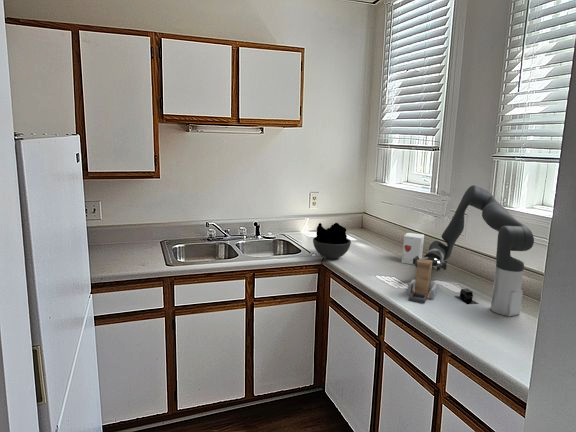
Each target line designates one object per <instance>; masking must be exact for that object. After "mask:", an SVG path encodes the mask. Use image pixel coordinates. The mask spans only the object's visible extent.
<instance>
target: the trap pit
mask: <svg viewBox="0 0 576 432" xmlns="http://www.w3.org/2000/svg"><path fill="white" fill-rule="evenodd" d="M427 297H428V295H423V294H418V293H412V294H411V295H409V296H408V301H411V302H413V303H414V302H415V303H417V304H418V303H419V304H423V305H425V303H426V302H427V300H428V299H427Z"/></svg>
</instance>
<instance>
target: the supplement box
mask: <svg viewBox="0 0 576 432" xmlns="http://www.w3.org/2000/svg"><path fill="white" fill-rule="evenodd" d="M424 238H425V234H423V233H422V234H421V233H415V232H406V234H404V235H403V243H402V253H401V254H402V255H401V263H402V264H408V265H413V258H415V257H416V256H419V258H423V250H424V242H425V241H424V240H425V239H424ZM413 266H414V265H413Z"/></svg>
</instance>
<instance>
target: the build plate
mask: <svg viewBox="0 0 576 432" xmlns="http://www.w3.org/2000/svg"><path fill="white" fill-rule="evenodd" d="M473 296H474V292H473V291H472V290H470V289H469V288H461V289H460V292H459V295H453V297H455V298H456V299H458V300H459V301H461V302H462V303H464V304H466V305H479V304H480V303H479V302H477V301H476V300H473V298H474V297H473Z"/></svg>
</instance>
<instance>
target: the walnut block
mask: <svg viewBox="0 0 576 432" xmlns="http://www.w3.org/2000/svg"><path fill="white" fill-rule="evenodd" d="M432 269H433V268H432V261H431V260H425V259H419V260H418V261H417V267H416V271H415V272H416V273H415V279H414V280H415V289H414V290H415V291H414V293H418V294H423V295H428V294H429V293H430V291H431V278H432Z"/></svg>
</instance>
